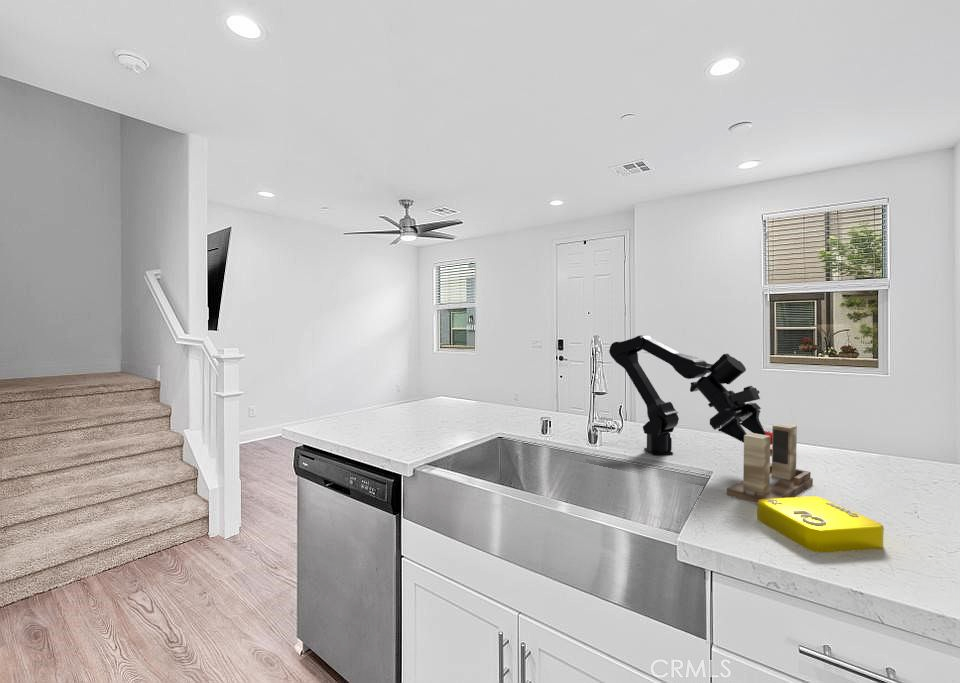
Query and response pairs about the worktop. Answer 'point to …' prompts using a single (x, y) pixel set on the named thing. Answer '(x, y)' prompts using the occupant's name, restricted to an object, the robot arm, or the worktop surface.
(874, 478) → the worktop surface
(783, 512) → the element tile
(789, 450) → the tan wooden upright block
